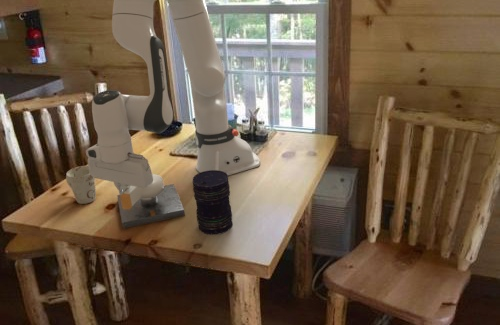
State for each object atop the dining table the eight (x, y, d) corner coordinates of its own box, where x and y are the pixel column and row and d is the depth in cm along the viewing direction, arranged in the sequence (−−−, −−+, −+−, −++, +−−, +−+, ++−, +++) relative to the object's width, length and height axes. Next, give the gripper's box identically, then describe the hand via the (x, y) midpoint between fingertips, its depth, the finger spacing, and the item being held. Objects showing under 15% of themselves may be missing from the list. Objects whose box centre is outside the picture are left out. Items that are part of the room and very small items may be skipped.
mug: (85, 208, 155) (78, 179, 151) (58, 199, 161) (51, 171, 157) (105, 196, 161) (99, 168, 157) (79, 188, 168) (72, 161, 164)
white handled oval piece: (140, 181, 156) (137, 167, 154) (169, 183, 153) (167, 169, 151) (110, 210, 140) (107, 195, 138) (142, 213, 137) (139, 197, 135)
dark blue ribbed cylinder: (211, 213, 147) (205, 167, 141) (239, 220, 142) (235, 173, 136) (191, 230, 139) (184, 182, 133) (220, 238, 135) (215, 189, 128)
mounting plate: (174, 189, 163) (172, 173, 160) (185, 215, 147) (182, 198, 144) (118, 200, 158) (114, 184, 156) (123, 228, 142) (119, 211, 140)
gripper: (154, 151, 134) (160, 196, 140) (96, 141, 143) (105, 184, 149) (139, 160, 129) (146, 207, 135) (80, 150, 138) (90, 194, 144)
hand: (124, 195), depth 142 cm, fingers closed
